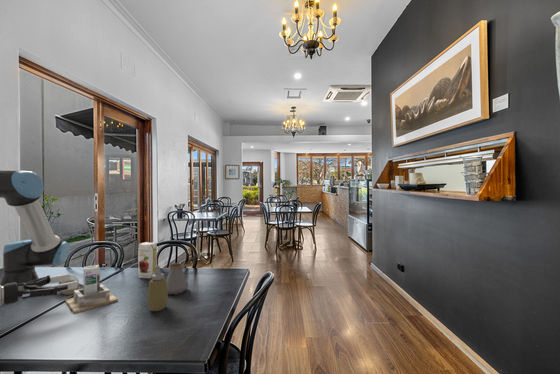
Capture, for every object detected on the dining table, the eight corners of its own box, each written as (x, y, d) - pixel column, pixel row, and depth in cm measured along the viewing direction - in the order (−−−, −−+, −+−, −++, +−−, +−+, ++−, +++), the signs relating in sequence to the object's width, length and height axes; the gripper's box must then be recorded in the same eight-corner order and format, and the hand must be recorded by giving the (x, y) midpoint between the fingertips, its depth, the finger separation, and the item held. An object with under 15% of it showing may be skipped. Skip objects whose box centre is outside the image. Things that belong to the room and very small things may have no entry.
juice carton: (144, 274, 162) (145, 241, 161) (158, 274, 160) (158, 242, 160) (136, 278, 154) (136, 244, 154) (150, 279, 153) (150, 244, 153)
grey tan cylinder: (59, 297, 127) (60, 280, 127) (58, 292, 133) (59, 276, 133) (87, 292, 134) (88, 276, 134) (85, 287, 140) (85, 272, 140)
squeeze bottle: (147, 314, 111) (147, 269, 111) (146, 306, 118) (147, 264, 118) (168, 310, 115) (169, 267, 115) (167, 303, 122) (167, 262, 122)
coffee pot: (175, 297, 128) (176, 265, 128) (157, 293, 133) (157, 262, 133) (206, 283, 147) (206, 255, 147) (189, 280, 152) (189, 252, 152)
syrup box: (83, 303, 119) (84, 269, 119) (83, 298, 124) (83, 266, 123) (99, 299, 122) (100, 267, 122) (98, 295, 127) (98, 264, 127)
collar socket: (65, 301, 122) (65, 290, 122) (106, 291, 134) (106, 281, 134) (73, 313, 112) (73, 300, 112) (117, 301, 123) (117, 290, 123)
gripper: (0, 295, 110) (66, 282, 126) (5, 315, 94) (80, 297, 109) (0, 276, 110) (66, 265, 126) (5, 293, 94) (80, 278, 109)
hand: (73, 280), depth 118 cm, fingers open, 13 cm apart
